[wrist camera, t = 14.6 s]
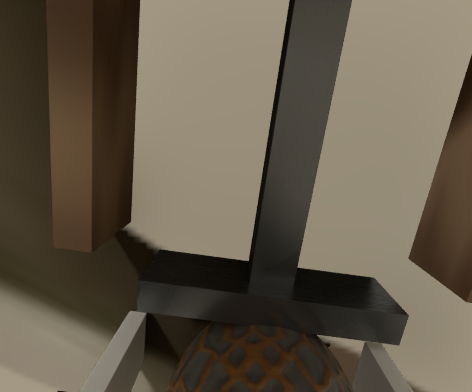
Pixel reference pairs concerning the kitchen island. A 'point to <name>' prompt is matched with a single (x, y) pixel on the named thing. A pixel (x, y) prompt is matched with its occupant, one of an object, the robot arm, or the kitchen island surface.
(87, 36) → the channel
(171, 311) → the lopsided grey dumbbell
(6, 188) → the kitchen island surface
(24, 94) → the kitchen island surface
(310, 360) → the vase
